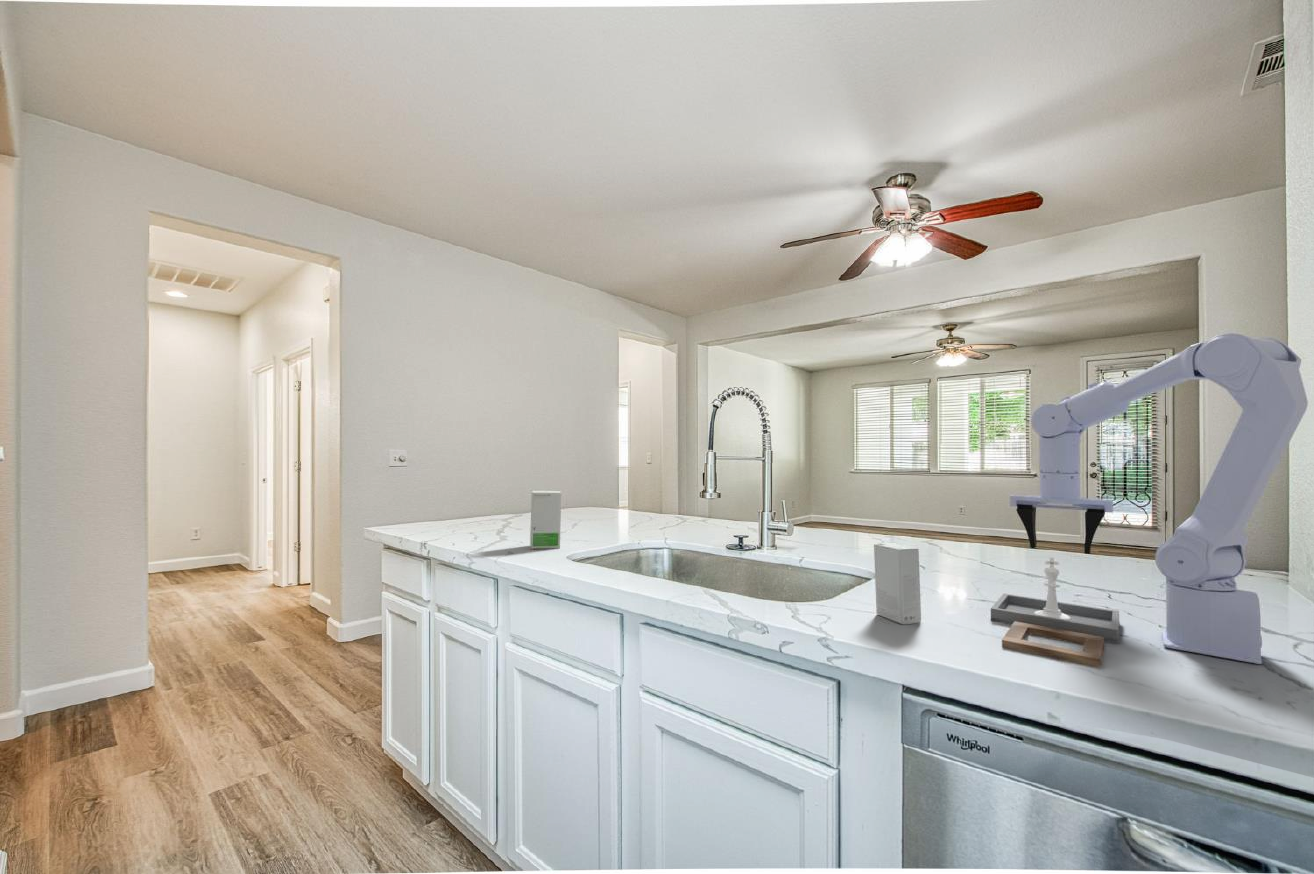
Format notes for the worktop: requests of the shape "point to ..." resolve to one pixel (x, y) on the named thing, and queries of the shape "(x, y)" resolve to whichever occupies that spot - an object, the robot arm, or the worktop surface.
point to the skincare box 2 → (897, 582)
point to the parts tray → (1080, 618)
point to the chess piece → (1051, 593)
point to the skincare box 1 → (545, 519)
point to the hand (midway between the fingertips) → (1059, 550)
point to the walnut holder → (1087, 656)
